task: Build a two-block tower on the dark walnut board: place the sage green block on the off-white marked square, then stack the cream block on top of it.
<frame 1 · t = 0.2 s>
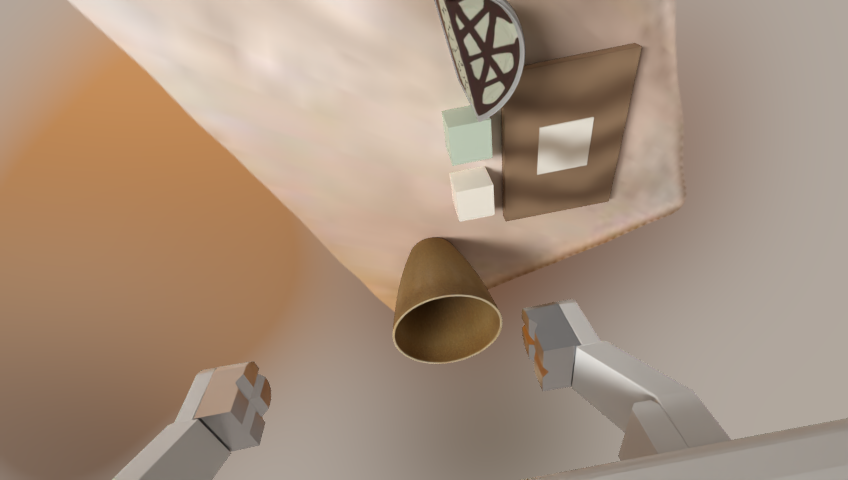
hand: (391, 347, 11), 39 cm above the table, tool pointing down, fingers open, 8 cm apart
food container: (472, 27, 41), on the table
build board: (559, 141, 51), on the table
cream block: (468, 184, 54), on the table
plant pot: (432, 252, 62), on the table
sage green block: (462, 125, 48), on the table
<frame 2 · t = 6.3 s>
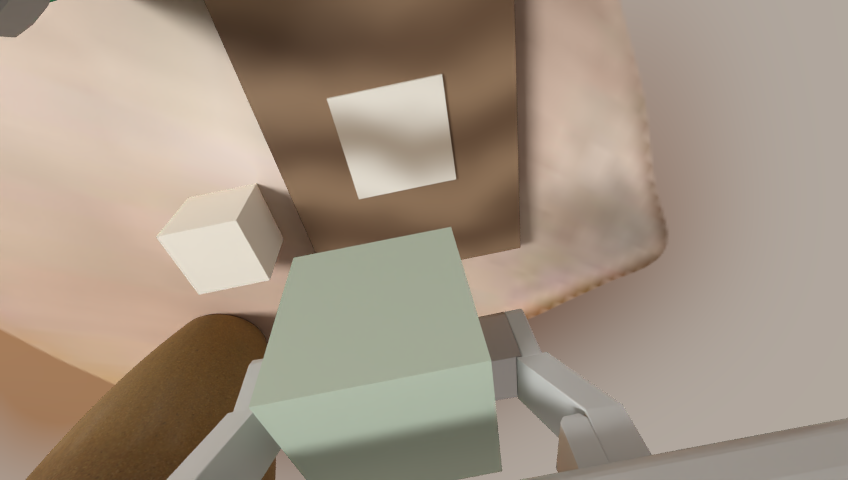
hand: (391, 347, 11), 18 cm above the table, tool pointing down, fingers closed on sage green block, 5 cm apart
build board: (395, 133, 26), on the table
cream block: (238, 218, 28), on the table
plant pot: (225, 337, 36), on the table
sage green block: (389, 299, 13), point 16 cm above the table, touching gripper
when the fingers open (5 cm above the table, at t = 9.2 s): sage green block drops 1 cm, resting on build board.
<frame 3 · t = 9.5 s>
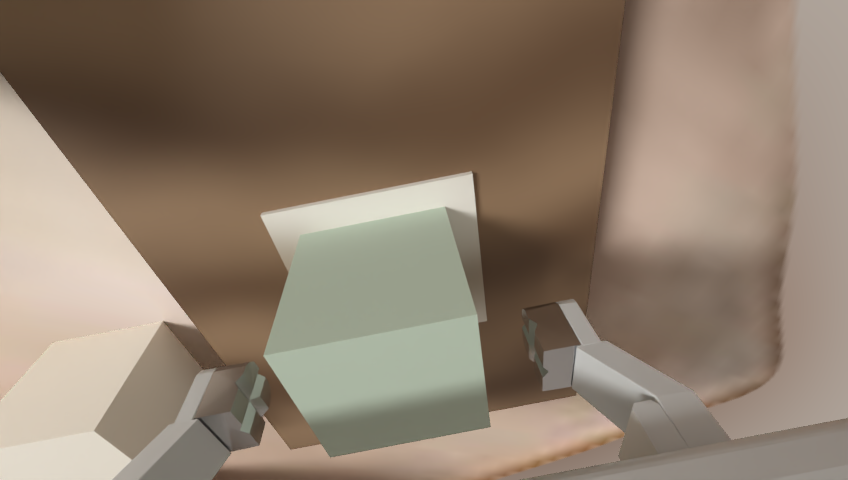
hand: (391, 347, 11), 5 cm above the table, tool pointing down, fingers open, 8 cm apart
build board: (388, 249, 15), on the table
cream block: (142, 364, 18), on the table
sage green block: (388, 275, 14), point 2 cm above the table, touching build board
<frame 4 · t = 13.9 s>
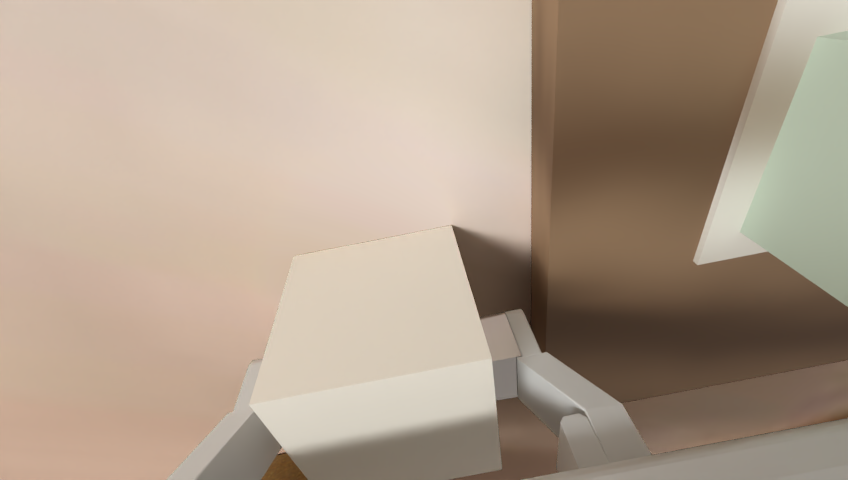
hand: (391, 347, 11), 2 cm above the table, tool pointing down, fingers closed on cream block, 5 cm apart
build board: (809, 109, 11), on the table
cream block: (389, 297, 13), on the table, touching gripper
plant pot: (311, 477, 20), on the table
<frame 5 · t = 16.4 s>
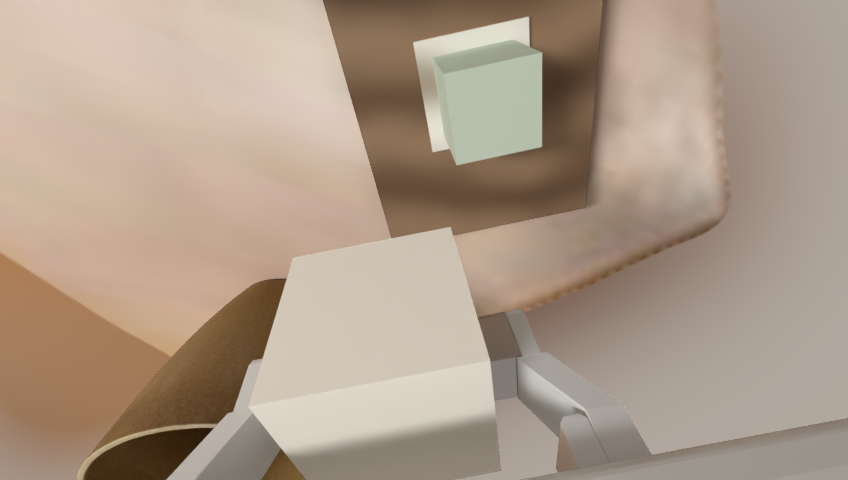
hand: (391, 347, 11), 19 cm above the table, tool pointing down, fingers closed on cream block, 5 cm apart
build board: (471, 84, 26), on the table
cream block: (389, 299, 13), point 17 cm above the table, touching gripper
plant pot: (281, 304, 35), on the table
sage green block: (476, 90, 24), point 2 cm above the table, touching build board
when the fingers open (10 cm above the table, at t = 19.0 s): cream block drops 1 cm, resting on sage green block.
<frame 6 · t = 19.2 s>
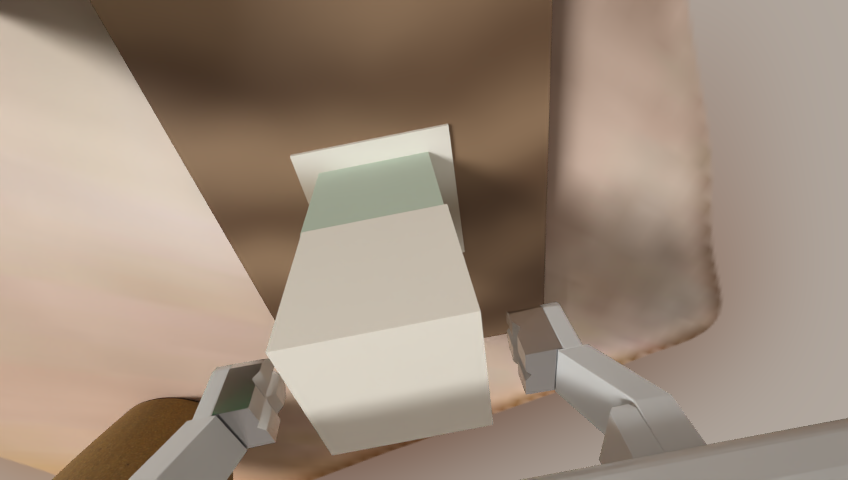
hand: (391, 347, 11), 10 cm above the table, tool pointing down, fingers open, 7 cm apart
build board: (386, 193, 20), on the table
cream block: (390, 273, 14), point 7 cm above the table, touching sage green block
plant pot: (180, 420, 29), on the table
sage green block: (385, 209, 18), point 2 cm above the table, touching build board, cream block
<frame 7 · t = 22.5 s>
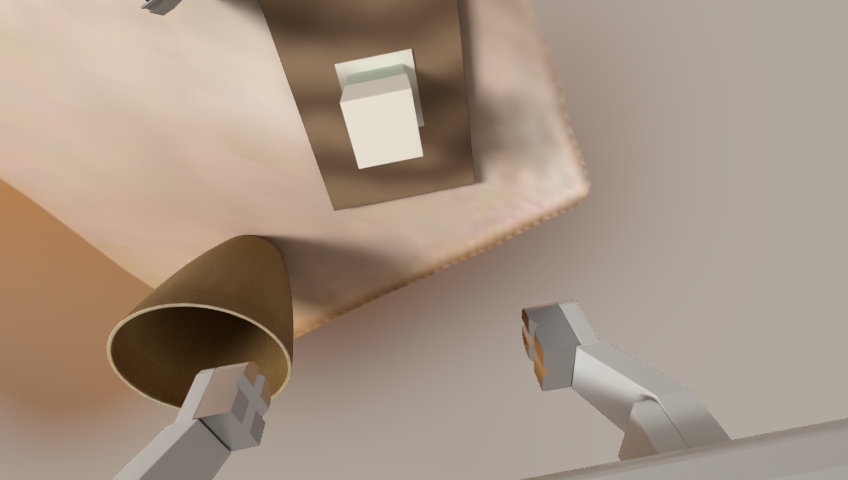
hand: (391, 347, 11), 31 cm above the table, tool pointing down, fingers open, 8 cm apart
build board: (381, 92, 37), on the table
cream block: (382, 111, 31), point 7 cm above the table, touching sage green block
plant pot: (253, 256, 46), on the table
sage green block: (381, 97, 35), point 2 cm above the table, touching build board, cream block
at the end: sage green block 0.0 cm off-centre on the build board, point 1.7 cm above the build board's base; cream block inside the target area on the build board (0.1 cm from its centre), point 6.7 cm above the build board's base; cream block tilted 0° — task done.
